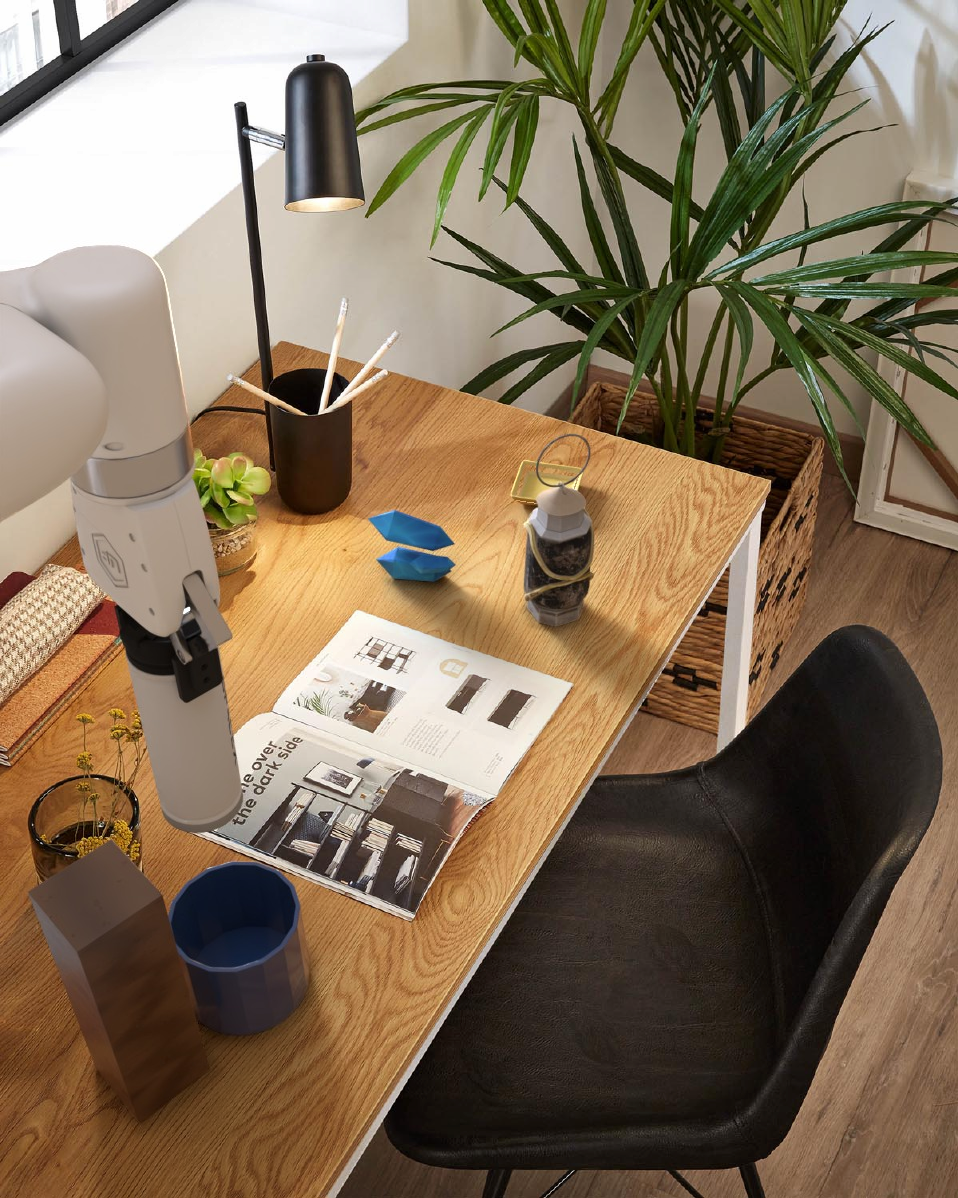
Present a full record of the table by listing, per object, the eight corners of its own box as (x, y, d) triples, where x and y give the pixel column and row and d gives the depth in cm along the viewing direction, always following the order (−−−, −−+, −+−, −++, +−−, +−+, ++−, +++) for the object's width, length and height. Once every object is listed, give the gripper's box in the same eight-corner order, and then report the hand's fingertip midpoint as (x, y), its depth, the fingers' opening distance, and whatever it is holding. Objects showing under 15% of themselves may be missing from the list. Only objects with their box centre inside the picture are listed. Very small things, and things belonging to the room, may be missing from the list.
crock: (232, 1060, 109) (216, 997, 103) (160, 977, 116) (141, 912, 109) (334, 981, 115) (325, 916, 109) (261, 906, 121) (248, 840, 115)
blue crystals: (459, 554, 151) (362, 525, 150) (444, 605, 157) (350, 578, 156) (470, 516, 156) (376, 489, 156) (455, 567, 162) (364, 541, 162)
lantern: (571, 579, 158) (582, 407, 141) (603, 618, 152) (619, 444, 136) (508, 598, 155) (512, 426, 139) (539, 639, 150) (547, 464, 133)
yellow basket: (584, 480, 174) (584, 467, 172) (573, 517, 167) (573, 504, 166) (522, 471, 175) (522, 459, 174) (508, 508, 169) (509, 495, 168)
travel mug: (141, 813, 98) (93, 618, 85) (202, 761, 102) (164, 567, 89) (200, 851, 95) (160, 655, 82) (260, 795, 99) (230, 601, 86)
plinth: (139, 1124, 105) (76, 951, 89) (95, 1067, 109) (27, 891, 93) (210, 1070, 109) (162, 894, 92) (164, 1016, 113) (111, 838, 96)
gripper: (3, 416, 80) (61, 629, 92) (155, 540, 70) (198, 760, 82) (108, 375, 84) (151, 584, 96) (265, 487, 74) (291, 704, 86)
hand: (172, 663), depth 89 cm, fingers closed on travel mug, 6 cm apart
